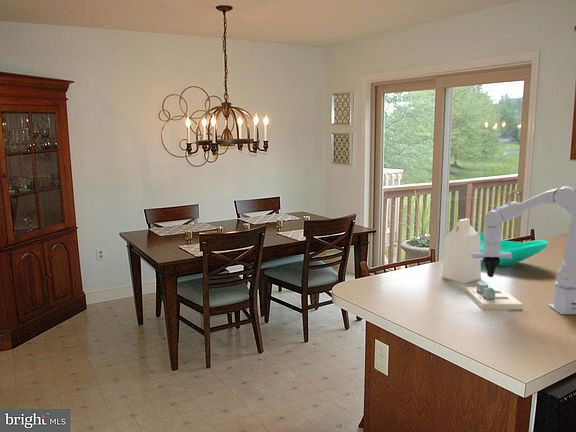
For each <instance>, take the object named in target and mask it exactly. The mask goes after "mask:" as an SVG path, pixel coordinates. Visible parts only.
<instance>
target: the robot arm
mask: <svg viewBox="0 0 576 432" xmlns="http://www.w3.org/2000/svg"><path fill="white" fill-rule="evenodd" d="M555 203H556V204H557V205H558V206H560V207H562V208H564V209H565V210H566V211H567V212H568V213H569V214H570V215H571V219H570V224H569V229H568V234H567V239H566V243H565V249H564V253H563V258H562V263H561V266H560V267H559V268H558V271H557V274H556V275H555V276H556V277H555V279H556V281H555V283H554V293H553V303H548V306H549V308H551V309H553V310H555V311H556V312H557V313H559V314H561V315H576V189H575V188H574V187H573V186H570V185H563V186H560V188H553V189H550V190H547V191H544V192H542V193H539V194H537V195H535V196H532V197H530V198H528V199H525V200H523V201H520V202H518V201H516V200H514V201H512V200H510V201H508V202H507V204H504V205H502V206H499V207H498V206H497V207H495V208H494V209H492V210H489V211H488V212H486V213H485V215H484V216H483V217H484V218H483V222H484V224H485V225H484V233H483V234H484V252H475V253H472V254H471V258H473V259H476V258H481V259H482V261H483V264H484V266H485V269H486V274H487V276H488V278H493V277H494V275H495V271H496V269H497V268H498V266H499V265H498V264H499V263H500V259H499V258H512V253H510V252H500V240H501V239H502V238H501V237H502V236H501V235H502V230H501V229H502V228H501V227H502V222H503V223H506V222H509V221H510V220H513V219H515V218H519V217H520V216H522V215H523V212H524V211H527V210H529V209H532V208H535V207H537V206H539V205H543V204H551V205H554V204H555Z"/></svg>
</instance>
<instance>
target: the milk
mask: <svg viewBox="0 0 576 432" xmlns="http://www.w3.org/2000/svg"><path fill="white" fill-rule="evenodd" d="M478 233H479V232H478ZM478 233H477V230H476V229H475V228H474V227H473V226H472V225H471V221H470V219H469V218H463V219H459V220H457V224H456V226H455V227H453V228H452V230H451V231H449V232H448V233H447V234H446V236H445V239H444V247H443V249H444V250H443V260H442V269H441V271H442V272H441V278H444V279H448V280H451V281H455V282H459V283H462V284H466V283H469V282H474V281H477V280H479V279H480V280H481V279H482V273H481V272H482V269H481V268H482V261H481V259H482V258H476V259H473V258H471V254H472V253H475V252H481V239H480V236H479V234H478Z"/></svg>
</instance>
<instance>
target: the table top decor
mask: <svg viewBox="0 0 576 432" xmlns="http://www.w3.org/2000/svg"><path fill="white" fill-rule="evenodd" d="M476 232H477V231H476ZM477 233H478V234H479V236H480V239H481V252H484V233H482V232H477ZM548 244H549V241H547V240H544V239H543V240H542V239H540V240H538V239H537V240H531V241H525V242H517V241H512V240H511V241H509V240H502V239H500V252H510V253H512V258H499V259H500V263H499V264H498V266H500V267H508V266H509V267H510V266H513V265H515V264H517V263H520V262H521V261H525V260H526V259H528V258H531V257H533V256H535V255H537V254H538V253H540V252H542V251H544V250H545V249H546V248H547V245H548Z"/></svg>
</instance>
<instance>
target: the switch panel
mask: <svg viewBox="0 0 576 432" xmlns="http://www.w3.org/2000/svg"><path fill="white" fill-rule="evenodd" d="M476 287H477V286H464V293H465V294H466V295H467V296H468V297H469V296H470V297H469V298H470V299H472V300H473V301H474V303H476V304H477V305H478V306H479V307H480V308H481V310H523V303H522V302H520V301H519V300H518V299H517V298H515V297H514V296H513V295H511V294H510V293H509V292H508V291H506V290H505V289H503V288H502V287H501V286H488V288H492V289H494V290H495V291H496V292H495V299H486V298H485V297H484V296H483V293H480V292H478V291H477V290H476Z"/></svg>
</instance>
